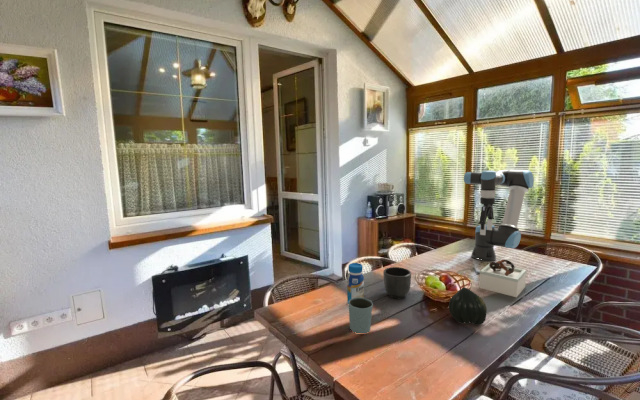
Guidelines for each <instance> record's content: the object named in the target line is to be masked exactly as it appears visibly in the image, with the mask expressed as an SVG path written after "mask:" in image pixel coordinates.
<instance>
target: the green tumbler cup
mask: <svg viewBox="0 0 640 400" xmlns="http://www.w3.org/2000/svg"><path fill="white" fill-rule="evenodd" d="M348 304H349V305H348ZM347 305H348V319H349V330H350V329H351V330H352V331H353V332H356V333H367V332H369V333H370V331H371V324H372V315H373V313H372V312H373V306H374V304H373V301H372V300H370V299H368V298H366V297H364V298H361V297H357V298H352V299H350V300H349V302H348V303H347ZM351 330H350V331H351ZM353 332H352V333H353ZM367 334H368V333H367Z"/></svg>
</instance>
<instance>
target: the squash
mask: <svg viewBox="0 0 640 400" xmlns="http://www.w3.org/2000/svg"><path fill="white" fill-rule="evenodd" d="M448 309H449V310H448V311H449V313H450V315H451V316H452V318H453V319H455V321H456V322H457V323H458V324H465V325H468V324H474V325H476V326H479V325H482V324H484V323H485V321H486V318H487V311H488V310H487V305H486V303H485V301H484V299H483V298H482V297H481V296H480V295H478V294H477V293H475V292H474V291H473V290H471V289H469V288H467V287H465V286H463V287H462V288H460V289H459V290H458V291H457V292H456V293H454V294H453V296H451V298H450V299H449V303H448Z"/></svg>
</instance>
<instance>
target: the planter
mask: <svg viewBox="0 0 640 400" xmlns="http://www.w3.org/2000/svg"><path fill="white" fill-rule="evenodd" d="M411 282H412V272H411V271H410V269H408V268H404V267H399V266H393V267H392V266H391V267H387V268H386V267H385V269H383V287H384V290H385V292H386V293H387V294H388V296H389V295H390V296H389V297H391V298H392V297H393V299H398V298H399V299H403V298H405V297H406V296H407V295H408V294H409V292H410V290H411V285H412V284H411Z"/></svg>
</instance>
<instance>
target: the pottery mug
mask: <svg viewBox="0 0 640 400" xmlns="http://www.w3.org/2000/svg"><path fill="white" fill-rule="evenodd" d="M504 263H506V265H505V264H504ZM488 264H489V263H488ZM492 265H494V266H492ZM507 265H509V266H510V267H512V268H509V270H508V269H507V267H506V266H507ZM489 266H490V268H491V269H493V271H496V269H500V270H501V268H503V269H504V270H505V271H506V273H505V275H506V276H507V275H509V274H511V273H513V272H514V268H516V267H515V264H514V263H513V262H512V261H510V260H508V259H501V260H498V261H497V262H496V261H490V264H489Z"/></svg>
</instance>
